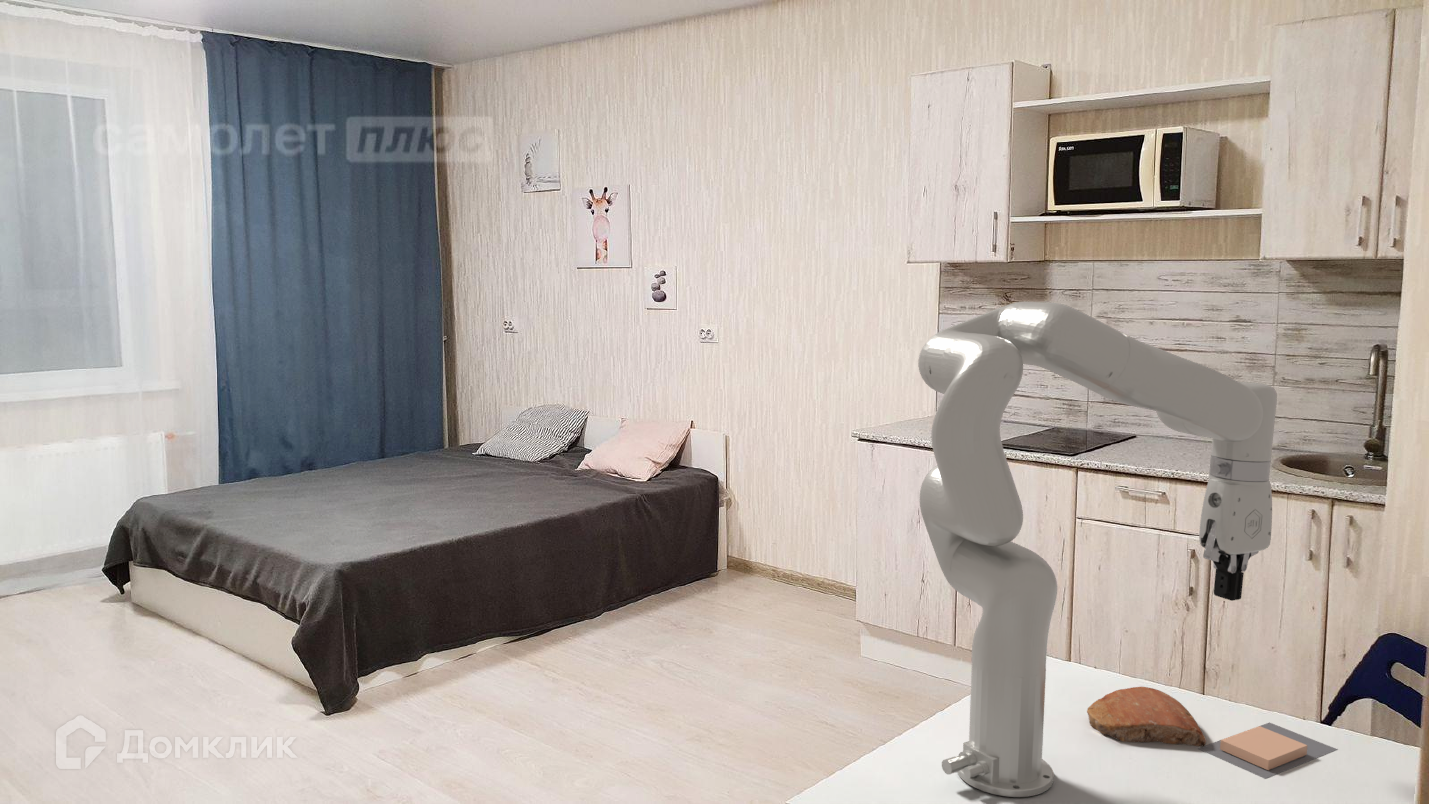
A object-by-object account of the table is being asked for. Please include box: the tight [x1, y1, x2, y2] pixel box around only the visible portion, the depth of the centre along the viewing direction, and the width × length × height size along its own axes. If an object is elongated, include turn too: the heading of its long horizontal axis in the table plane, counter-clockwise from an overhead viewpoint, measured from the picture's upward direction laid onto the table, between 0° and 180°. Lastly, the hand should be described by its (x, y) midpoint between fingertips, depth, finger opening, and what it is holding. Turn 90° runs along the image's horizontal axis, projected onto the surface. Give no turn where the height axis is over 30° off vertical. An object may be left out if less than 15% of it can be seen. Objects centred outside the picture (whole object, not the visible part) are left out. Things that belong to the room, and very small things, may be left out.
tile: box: [1220, 725, 1307, 770], centre depth 143 cm, size 2×7×9 cm
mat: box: [1197, 722, 1339, 780], centre depth 145 cm, size 17×10×1 cm, turn 120°
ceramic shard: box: [1086, 686, 1207, 747], centre depth 153 cm, size 15×6×15 cm
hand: (1227, 597), depth 146 cm, fingers closed
